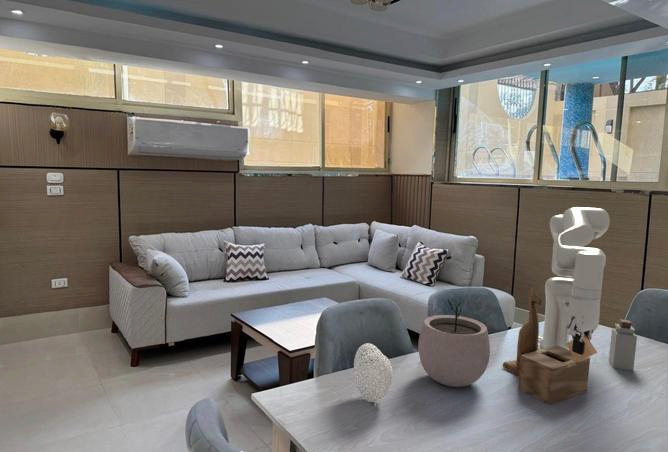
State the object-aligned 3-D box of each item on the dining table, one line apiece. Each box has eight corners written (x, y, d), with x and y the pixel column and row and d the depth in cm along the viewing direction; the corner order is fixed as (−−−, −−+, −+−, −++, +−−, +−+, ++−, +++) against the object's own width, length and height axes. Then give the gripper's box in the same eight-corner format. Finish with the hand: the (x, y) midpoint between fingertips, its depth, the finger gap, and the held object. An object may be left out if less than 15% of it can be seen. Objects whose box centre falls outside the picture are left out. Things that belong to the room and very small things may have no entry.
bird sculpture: (525, 382, 159) (536, 294, 155) (501, 367, 170) (510, 285, 165) (548, 377, 164) (559, 292, 159) (523, 363, 174) (532, 283, 170)
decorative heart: (398, 414, 134) (401, 359, 132) (365, 418, 131) (367, 362, 129) (376, 386, 151) (378, 337, 149) (346, 389, 148) (348, 340, 146)
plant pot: (499, 382, 157) (505, 299, 154) (467, 406, 140) (473, 313, 136) (438, 361, 173) (443, 285, 170) (403, 381, 156) (407, 297, 152)
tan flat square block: (577, 362, 135) (565, 343, 138) (582, 360, 136) (570, 342, 139) (592, 354, 131) (580, 335, 134) (597, 352, 132) (585, 334, 135)
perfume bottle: (628, 363, 177) (633, 319, 175) (633, 370, 171) (638, 324, 169) (608, 360, 179) (613, 317, 177) (613, 367, 173) (617, 322, 171)
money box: (517, 388, 153) (520, 355, 151) (554, 377, 163) (557, 345, 161) (549, 405, 142) (552, 368, 141) (586, 391, 152) (590, 357, 151)
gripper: (589, 287, 140) (584, 343, 143) (557, 292, 132) (552, 352, 135) (614, 293, 134) (608, 352, 136) (582, 299, 126) (576, 361, 128)
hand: (580, 351), depth 135 cm, fingers closed on tan flat square block, 2 cm apart
